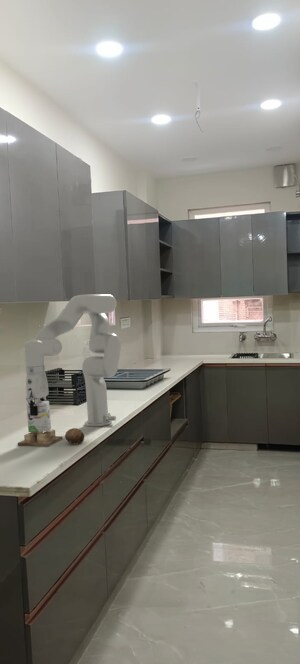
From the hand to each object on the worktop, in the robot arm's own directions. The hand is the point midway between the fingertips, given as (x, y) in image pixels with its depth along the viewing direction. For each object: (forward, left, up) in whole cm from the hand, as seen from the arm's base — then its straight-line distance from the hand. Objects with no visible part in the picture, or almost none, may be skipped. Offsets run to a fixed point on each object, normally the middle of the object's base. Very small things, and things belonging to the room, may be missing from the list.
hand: (38, 413), depth 209 cm
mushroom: (-16, 0, -12) cm, 20 cm away
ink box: (0, 0, -7) cm, 7 cm away
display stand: (0, 0, -12) cm, 12 cm away
